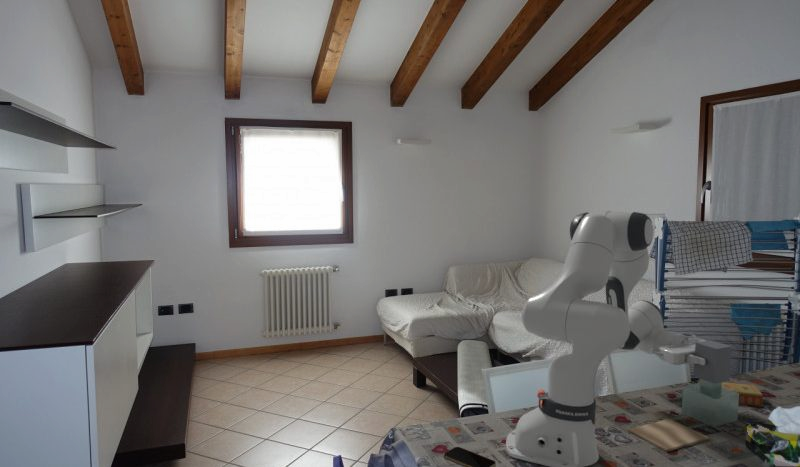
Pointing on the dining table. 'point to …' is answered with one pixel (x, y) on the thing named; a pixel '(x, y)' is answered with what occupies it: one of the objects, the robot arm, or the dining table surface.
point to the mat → (668, 434)
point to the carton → (745, 393)
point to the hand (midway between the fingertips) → (715, 360)
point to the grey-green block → (710, 403)
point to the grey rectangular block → (713, 361)
